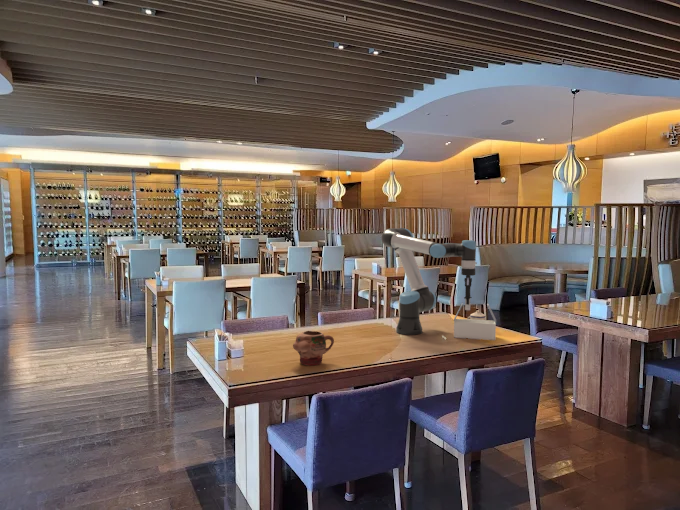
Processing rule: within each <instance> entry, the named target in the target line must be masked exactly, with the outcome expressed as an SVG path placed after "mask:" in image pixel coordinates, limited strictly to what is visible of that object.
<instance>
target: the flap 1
mask: <svg viewBox="0 0 680 510" xmlns="http://www.w3.org/2000/svg"><path fill="white" fill-rule="evenodd" d="M463 305H464V302H461V304H460V306H459V308H458V310H457V312H456V314H455V316H454V319H453V322H454V321H455V319H457V317H458V315H459V312H460V311H461V309H462V308H463Z"/></svg>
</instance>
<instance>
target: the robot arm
mask: <svg viewBox="0 0 680 510" xmlns="http://www.w3.org/2000/svg"><path fill="white" fill-rule="evenodd" d="M380 240H381V242H382V244H383V245H384V246H385V247H387V248H392V249H393V250H394V252H395V253H396V254H398V257H399V259H400V262H401V265H402V268H403V270H404V273H405V276H406V279H407V282H408V284H409V287H410V289H411V290H410V291H404V292H402V293H400V294H399V299H398V303H399V304H398V305H399V313H398V315H399V320H398V322H397V324H396V333H397V334H400V335H405V336H407V335H409V336H410V335H411V336H414V335H421V334H422V333H423V327H422V323H421V320H420V313H423V312H428V311H430V310H432V309H434V307H436V303H437V297H436V294H435V293H434V292H432V291H431V290H430V288H429V285H426V284H425V283H424V279H423V277H422V273H421V271H420V268H419V266H418V263H417V260H416V258H415V255H414V252H416V253H421V254H425V255H429V256H431V257H432V258H436V259H441V258H451V257H456V258H457V257H458V258H461V276H465V277H464V279H463V281H464V288H465V289H464V290H465V294H464V296H465V297H463V298H464V300H465V301H464V303H465V304H464V310H465V311H471V299H472V295H471V287H472V281H473V277H471V276H475V275H476V265H477V263H478V262H476V253H477V244H476V241H475V240H473V239H472V240H471V239H469V240H468V239H465V240H462V241H461V243H456V242H455V243H454V242H445V243H440V242H439V243H438V242H434V241H430V240H424V239H420V238H416V237H414V235H413V233H412V231H410V230H409V229H407V228H405V227H399V228H398V227H397V228H395V227H392V228H387V229H384V231H383V232H382V234H381V237H380Z"/></svg>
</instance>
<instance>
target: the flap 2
mask: <svg viewBox="0 0 680 510" xmlns="http://www.w3.org/2000/svg"><path fill="white" fill-rule="evenodd" d="M487 308H488V311H489V313H490V315H491V317H492V319H493V321H495V323H496V324H497V319H496V316H495V314H494V312H493V310H492V308H491V306H490V304H489V303H487Z"/></svg>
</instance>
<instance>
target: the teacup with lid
mask: <svg viewBox="0 0 680 510" xmlns="http://www.w3.org/2000/svg"><path fill="white" fill-rule="evenodd" d="M486 317H487V315H486V314H484V313H482V312H481V311H480V310H476V311H475V312H473V313H470V315H469V316H467V318H466V319H471V320H486Z"/></svg>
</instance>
